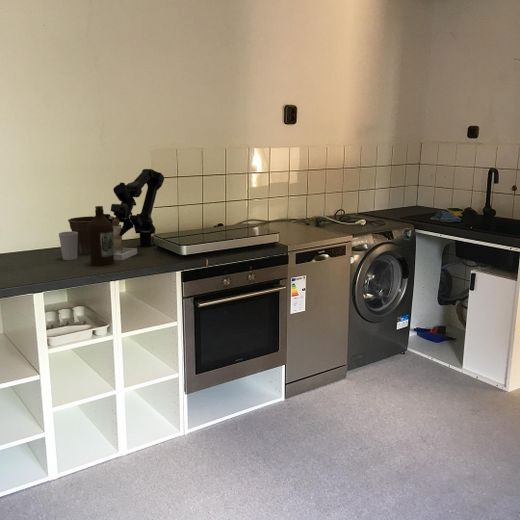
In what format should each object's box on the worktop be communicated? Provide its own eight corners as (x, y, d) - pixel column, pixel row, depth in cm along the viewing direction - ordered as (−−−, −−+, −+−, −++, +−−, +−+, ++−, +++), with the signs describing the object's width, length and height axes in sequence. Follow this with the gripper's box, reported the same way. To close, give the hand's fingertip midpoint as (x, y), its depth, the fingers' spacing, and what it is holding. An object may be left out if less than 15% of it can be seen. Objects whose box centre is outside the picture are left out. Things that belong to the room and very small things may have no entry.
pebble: (117, 257, 261) (116, 250, 260) (123, 257, 260) (122, 251, 259) (113, 258, 258) (113, 252, 257) (119, 259, 257) (119, 252, 256)
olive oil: (84, 265, 248) (80, 206, 242) (104, 260, 256) (100, 204, 251) (100, 268, 242) (97, 208, 236) (120, 264, 250) (117, 206, 245)
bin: (113, 253, 271) (113, 247, 271) (137, 254, 268) (137, 248, 268) (97, 259, 258) (97, 253, 258) (122, 261, 255) (122, 254, 254)
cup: (82, 257, 262) (80, 231, 259) (75, 261, 254) (73, 234, 252) (65, 257, 263) (63, 231, 260) (57, 261, 255) (55, 234, 252)
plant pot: (64, 256, 266) (61, 221, 262) (79, 249, 281) (76, 215, 278) (98, 257, 264) (96, 221, 260) (111, 249, 280) (109, 216, 276)
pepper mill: (118, 248, 266) (117, 217, 262) (124, 249, 263) (123, 218, 260) (110, 249, 262) (108, 218, 259) (116, 251, 260) (114, 219, 256)
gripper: (100, 196, 263) (88, 224, 256) (138, 197, 259) (127, 226, 251) (110, 210, 273) (99, 238, 265) (146, 212, 268) (136, 240, 260)
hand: (115, 235), depth 260 cm, fingers closed on pepper mill, 4 cm apart
